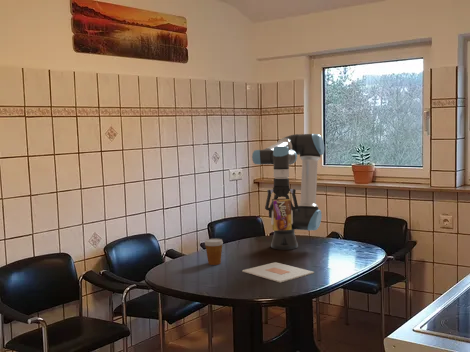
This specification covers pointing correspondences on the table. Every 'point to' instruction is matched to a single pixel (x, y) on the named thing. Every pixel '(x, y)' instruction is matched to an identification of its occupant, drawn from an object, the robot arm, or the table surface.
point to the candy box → (282, 214)
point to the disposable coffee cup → (214, 251)
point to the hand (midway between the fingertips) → (281, 223)
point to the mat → (278, 272)
